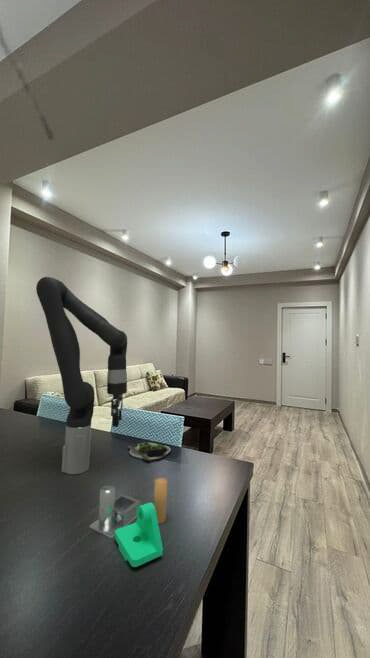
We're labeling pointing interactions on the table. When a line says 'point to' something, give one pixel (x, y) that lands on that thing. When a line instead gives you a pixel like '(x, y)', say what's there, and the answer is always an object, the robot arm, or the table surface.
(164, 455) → the salad plate
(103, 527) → the clear post on plate
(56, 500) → the table surface
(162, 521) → the tan rounded cylinder
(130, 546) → the camera mount
